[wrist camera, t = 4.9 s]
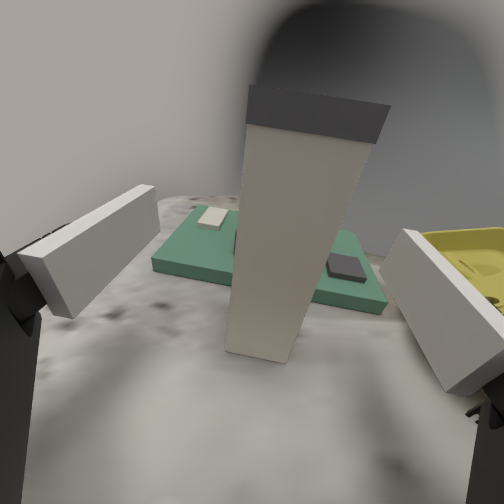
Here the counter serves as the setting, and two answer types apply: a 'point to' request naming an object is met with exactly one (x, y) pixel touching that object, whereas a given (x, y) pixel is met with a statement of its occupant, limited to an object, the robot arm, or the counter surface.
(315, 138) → the plug
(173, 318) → the counter surface
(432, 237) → the plastic component
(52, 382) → the counter surface
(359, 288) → the board
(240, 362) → the counter surface
